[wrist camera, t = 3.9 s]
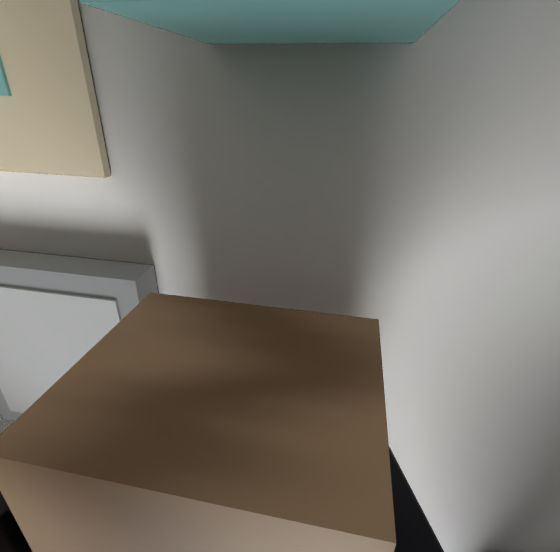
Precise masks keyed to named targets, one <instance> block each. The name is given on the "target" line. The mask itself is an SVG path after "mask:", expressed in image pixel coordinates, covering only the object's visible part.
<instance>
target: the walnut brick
mask: <svg viewBox="0 0 560 552" xmlns="http://www.w3.org/2000/svg"><path fill="white" fill-rule="evenodd" d="M0 491H1V493H2V495H3V497H4V499H5V501H6V503H7V505H8V506H9V508H10V510H11V512H12V514H13V516H14V518H15V520H16V522H17V523H18V525H19V527H20V529H21V531H22V533H23V535H24V537H25V538H26V540H27V542H28V544H29V546H30V548H31V550H32V552H394V550H395V546H396V533H395V521H394V508H393V496H392V483H391V471H390V458H389V445H388V433H387V420H386V408H385V395H384V383H383V370H382V358H381V345H380V333H379V320H378V319H370V318H361V317H353V316H344V315H336V314H327V313H319V312H310V311H302V310H293V309H285V308H276V307H268V306H260V305H251V304H243V303H234V302H226V301H217V300H209V299H200V298H192V297H183V296H175V295H166V294H158V293H149V294H148V295H147V296H146V297H145V298H144V299H143V300H142V301H141V302H140V303H139V304H138V305H137V306H136V307H135V308H134V309H133V310H131V311H130V312H129V313H128V314H127V315H126V316H125V317H124V318H123V319H122V320H121V321H120V322H119V323H118V324H117V325H116V326H115V327H113V328H112V329H111V330H110V331H109V332H108V333H107V334H106V335H105V336H104V337H103V338H102V339H101V340H100V341H99V342H98V343H97V344H96V345H94V346H93V347H92V348H91V349H90V350H89V351H88V352H87V353H86V354H85V355H84V356H83V357H82V358H81V359H80V360H79V361H78V362H77V363H75V364H74V365H73V366H72V367H71V368H70V369H69V370H68V371H67V372H66V373H65V374H64V375H63V376H62V377H61V378H60V379H59V380H57V381H56V382H55V383H54V384H53V385H52V386H51V387H50V388H49V389H48V390H47V391H46V392H45V393H44V394H43V395H42V396H41V397H40V398H38V399H37V400H36V401H35V402H34V403H33V404H32V405H31V406H30V407H29V408H28V409H27V410H26V411H25V412H24V413H23V414H22V415H21V416H19V417H18V418H17V419H16V420H15V421H14V422H13V423H12V424H11V425H10V426H9V427H8V428H7V429H6V430H5V431H4V432H3V433H1V434H0Z"/></svg>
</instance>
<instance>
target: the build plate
mask: <svg viewBox="0 0 560 552" xmlns="http://www.w3.org/2000/svg"><path fill="white" fill-rule="evenodd" d="M149 293H158V288H157V282H156V276H155V269H154V265H146V264H136V263H127V262H117V261H107V260H98V259H88V258H79V257H69V256H60V255H50V254H40V253H31V252H21V251H12V250H2V249H0V414H1V417H2V419H5V420H11V421H15V420H16V419H17V418H18V417H19V416H21V415H22V414H23V413H24V412H25V411H26V410H27V409H28V408H29V407H30V406H31V405H32V404H33V403H34V402H35V401H36V400H37V399H38V398H40V397H41V396H42V395H43V394H44V393H45V392H46V391H47V390H48V389H49V388H50V387H51V386H52V385H53V384H54V383H55V382H56V381H57V380H59V379H60V378H61V377H62V376H63V375H64V374H65V373H66V372H67V371H68V370H69V369H70V368H71V367H72V366H73V365H74V364H75V363H77V362H78V361H79V360H80V359H81V358H82V357H83V356H84V355H85V354H86V353H87V352H88V351H89V350H90V349H91V348H92V347H93V346H94V345H96V344H97V343H98V342H99V341H100V340H101V339H102V338H103V337H104V336H105V335H106V334H107V333H108V332H109V331H110V330H111V329H112V328H113V327H115V326H116V325H117V324H118V323H119V322H120V321H121V320H122V319H123V318H124V317H125V316H126V315H127V314H128V313H129V312H130V311H131V310H133V309H134V308H135V307H136V306H137V305H138V304H139V303H140V302H141V301H142V300H143V299H144V298H145V297H146V296H147V295H148V294H149Z"/></svg>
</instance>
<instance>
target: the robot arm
mask: <svg viewBox="0 0 560 552" xmlns="http://www.w3.org/2000/svg"><path fill="white" fill-rule="evenodd" d="M389 458H390V471H391V483H392V496H393V508H394V521H395V533H396V546H395V550H394V552H444V551H443V549H442V547H441V545H440V543H439V541H438V539H437V537H436V535H435V534H434V532H433V530H432V528H431V526H430V524H429V522H428V520H427V518H426V516H425V514H424V512H423V510H422V509H421V507H420V505H419V503H418V501H417V499H416V497H415V495H414V493H413V491H412V489H411V487H410V485H409V484H408V482H407V480H406V478H405V476H404V474H403V472H402V470H401V468H400V466H399V464H398V462H397V460H396V459H395V457H394V455H393V453H392V451H391V449H390V447H389ZM0 552H32V550H31V548H30V546H29V544H28V542H27V540H26V538H25V537H24V535H23V533H22V531H21V529H20V527H19V525H18V523H17V522H16V520H15V518H14V516H13V514H12V512H11V510H10V508H9V506H8V505H7V503H6V501H5V499H4V497H3V495H2V493H1V491H0Z"/></svg>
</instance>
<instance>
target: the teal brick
mask: <svg viewBox="0 0 560 552" xmlns="http://www.w3.org/2000/svg"><path fill="white" fill-rule="evenodd" d="M459 1H460V0H79V2H80V3H83V4H86V5H89V6H92V7H95V8H98V9H102V10H105V11H108V12H111V13H114V14H117V15H120V16H124V17H127V18H130V19H133V20H136V21H139V22H143V23H146V24H149V25H152V26H155V27H158V28H161V29H165V30H168V31H171V32H174V33H177V34H180V35H183V36H187V37H190V38H193V39H196V40H199V41H202V42H205V43H209V44H265V43H414V42H415V41H416V40H417V39H418V38H419V37H420V36H421V35H423V34H424V33H425V32H426V31H427V30H428V29H429V28H430V27H431V26H432V25H433V24H435V23H436V22H437V21H438V20H439V19H440V18H441V17H442V16H443V15H444V14H445V13H447V12H448V11H449V10H450V9H451V8H452V7H453V6H454V5H455V4H456V3H457V2H459Z"/></svg>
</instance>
